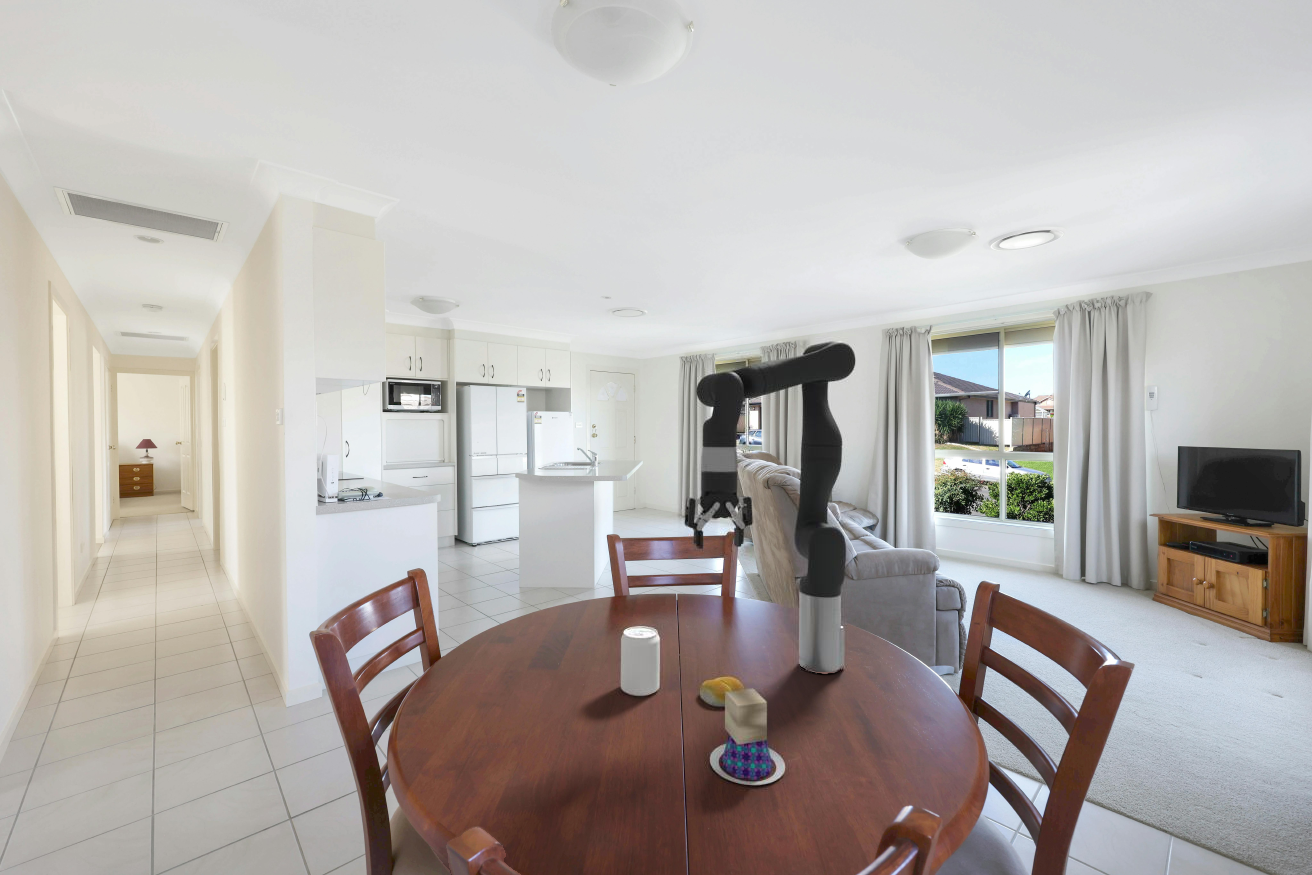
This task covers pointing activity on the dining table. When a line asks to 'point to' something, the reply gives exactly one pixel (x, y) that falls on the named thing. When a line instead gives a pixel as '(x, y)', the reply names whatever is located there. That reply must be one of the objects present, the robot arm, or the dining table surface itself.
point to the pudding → (747, 761)
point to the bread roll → (719, 690)
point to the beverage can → (640, 661)
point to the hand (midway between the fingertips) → (718, 547)
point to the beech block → (745, 716)
